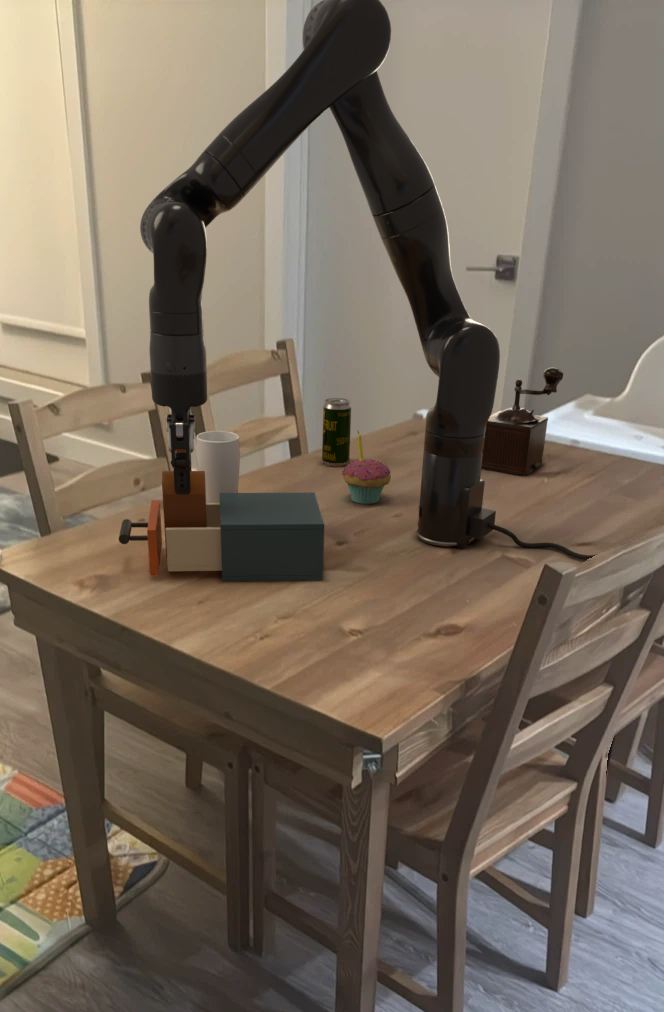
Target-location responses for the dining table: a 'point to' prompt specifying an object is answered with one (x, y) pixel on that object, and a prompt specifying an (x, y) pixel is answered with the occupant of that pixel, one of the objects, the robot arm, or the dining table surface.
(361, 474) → the cupcake
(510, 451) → the manual coffee grinder
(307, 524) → the cabinet
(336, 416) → the green drink can
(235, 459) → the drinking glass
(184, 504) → the bread
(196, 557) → the drawer
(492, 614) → the dining table surface
